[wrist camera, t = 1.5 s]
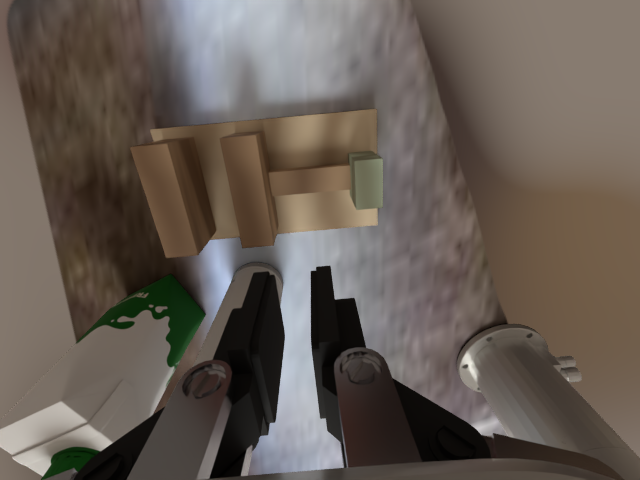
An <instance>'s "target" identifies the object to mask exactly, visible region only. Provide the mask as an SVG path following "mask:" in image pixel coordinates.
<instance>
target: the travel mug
mask: <svg viewBox="0 0 640 480" xmlns="http://www.w3.org/2000/svg"><path fill="white" fill-rule="evenodd" d="M265 271H269V273H270V275H275V278H276V284H277V290H278V296H279V302H280V304H281V297H282V291H283V281H282V278H281V276H280V274H279V273H278V271H277V270H275V269H274V268H273V267H271V266H270V265H267V264H264V263H259V262H254V263H249V264H246V265H244V266H242V267H240V268H239V269H238V270H237V272H236V273H235V275H234V277H233V279H232V281H231V284H230V286H229V288H228V290H227V292H226V295H225V297H224V299H223V301H222V304H221V306H220V308H219V310H218V312H217V315H216V317H215V319H214V321H213V323H212V326H211V328H210V330H209V332H208V335H207V337H206V339H205V341H204V343H203V346H202V348H201V350H200V352H199V354H198V357H197V359H196V361H195V363H194V366H195V365H197V364H199V363H202V362H204V361H208V360H212V359H213V357H214V354H215V352H216V349H217V347H218V344H219V341H220V339H221V336H222V334H223V331H224V328H225V326H226V323H227V321H228V318H229V316H230V313H231V311H232V309H234V308H241V307H242V305H243V302H244V299H245V296H246V293H247V290H248V287H249V284H250V281H251V278H252V275H253V273H254V272H265ZM194 366H193V367H194ZM258 441H259V438H258V439H257V440H256V441H255V442H254V443H253V444H252V451H253V450H254V449H255V447H256V445H257V443H258Z"/></svg>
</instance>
